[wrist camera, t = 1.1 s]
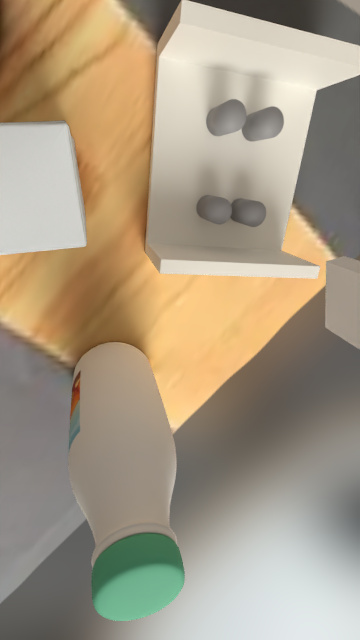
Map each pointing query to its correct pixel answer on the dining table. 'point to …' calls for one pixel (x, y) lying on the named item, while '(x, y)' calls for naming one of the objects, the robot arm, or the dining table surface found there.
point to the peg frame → (232, 140)
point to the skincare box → (39, 188)
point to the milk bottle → (124, 481)
